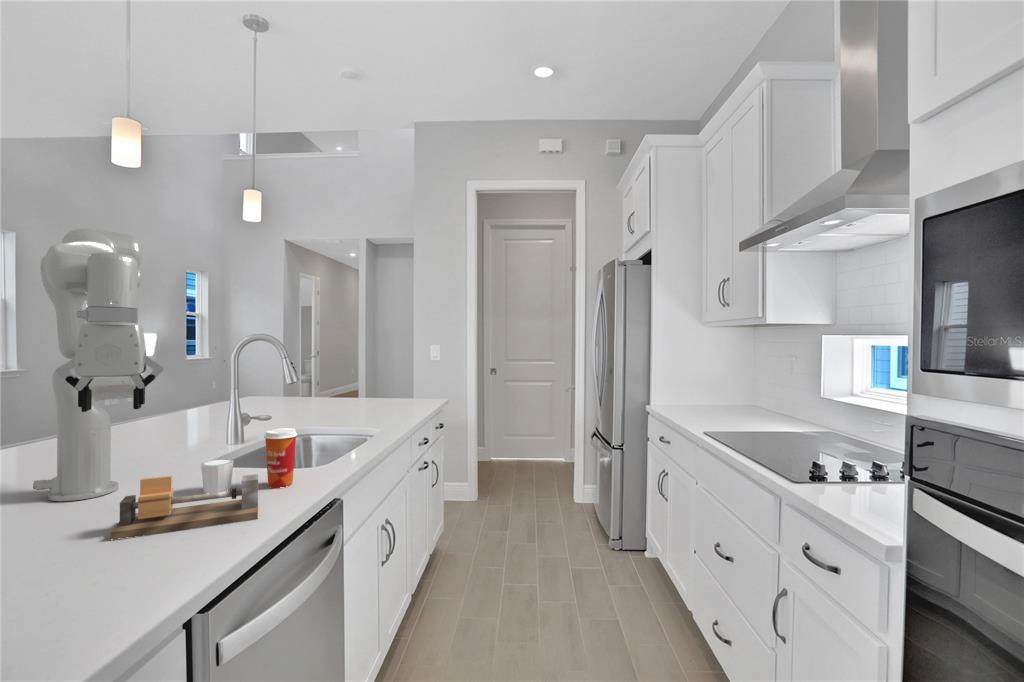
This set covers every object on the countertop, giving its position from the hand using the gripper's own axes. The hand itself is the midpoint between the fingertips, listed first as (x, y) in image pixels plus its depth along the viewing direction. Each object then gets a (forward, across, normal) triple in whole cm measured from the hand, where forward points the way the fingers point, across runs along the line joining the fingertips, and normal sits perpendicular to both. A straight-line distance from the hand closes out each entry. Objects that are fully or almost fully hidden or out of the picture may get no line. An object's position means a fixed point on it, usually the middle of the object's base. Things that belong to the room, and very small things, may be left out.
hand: (112, 408), depth 92 cm
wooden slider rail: (+24, +13, 0) cm, 27 cm away
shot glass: (+24, +16, +20) cm, 35 cm away
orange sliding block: (+21, +7, 0) cm, 22 cm away
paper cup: (+24, +30, +18) cm, 42 cm away
